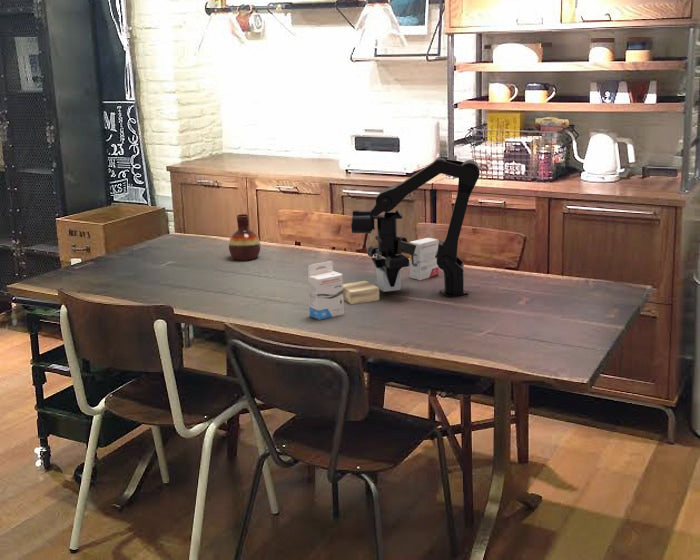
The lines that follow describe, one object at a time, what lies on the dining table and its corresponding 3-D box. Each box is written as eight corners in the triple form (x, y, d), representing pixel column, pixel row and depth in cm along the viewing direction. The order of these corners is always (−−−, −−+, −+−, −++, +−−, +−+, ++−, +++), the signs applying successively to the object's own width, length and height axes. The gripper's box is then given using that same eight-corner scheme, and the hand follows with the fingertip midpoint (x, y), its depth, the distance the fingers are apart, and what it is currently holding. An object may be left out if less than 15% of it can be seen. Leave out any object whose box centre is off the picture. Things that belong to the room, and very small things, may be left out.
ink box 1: (319, 320, 239) (316, 268, 236) (309, 316, 243) (306, 265, 239) (344, 314, 244) (342, 263, 240) (334, 310, 248) (332, 259, 244)
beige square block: (379, 301, 256) (379, 287, 255) (351, 305, 253) (350, 292, 252) (366, 293, 264) (366, 280, 263) (338, 297, 261) (338, 284, 260)
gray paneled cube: (400, 289, 261) (400, 269, 259) (383, 291, 259) (383, 271, 257) (393, 284, 266) (393, 265, 264) (376, 287, 264) (376, 267, 262)
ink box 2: (428, 272, 284) (428, 236, 280) (439, 275, 280) (439, 239, 277) (408, 277, 278) (408, 241, 275) (419, 280, 274) (419, 244, 271)
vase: (223, 258, 311) (220, 216, 307) (248, 253, 318) (245, 211, 314) (241, 263, 303) (238, 219, 299) (267, 257, 310) (264, 214, 306)
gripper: (425, 236, 252) (426, 288, 256) (400, 224, 269) (401, 273, 273) (389, 240, 248) (391, 293, 252) (366, 228, 265) (367, 278, 269)
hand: (388, 284), depth 262 cm, fingers closed on gray paneled cube, 5 cm apart
